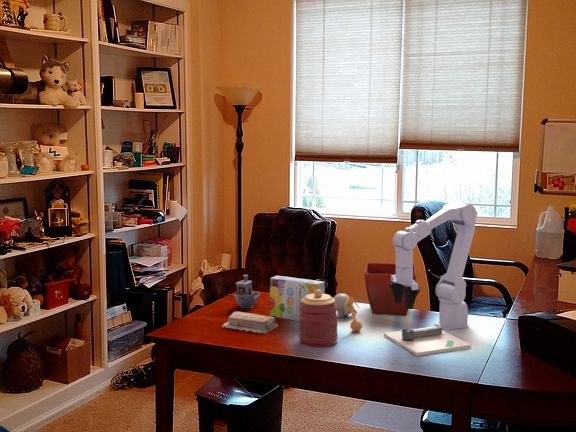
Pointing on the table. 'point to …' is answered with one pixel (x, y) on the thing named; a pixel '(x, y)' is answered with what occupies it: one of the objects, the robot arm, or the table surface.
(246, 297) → the toy boat
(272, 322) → the butter dish
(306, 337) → the canister
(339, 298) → the chubby cartoon animal
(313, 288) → the snack box
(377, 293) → the plant pot
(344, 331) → the table surface
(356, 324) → the figurine
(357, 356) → the table surface
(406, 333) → the lever
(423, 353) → the dial board
